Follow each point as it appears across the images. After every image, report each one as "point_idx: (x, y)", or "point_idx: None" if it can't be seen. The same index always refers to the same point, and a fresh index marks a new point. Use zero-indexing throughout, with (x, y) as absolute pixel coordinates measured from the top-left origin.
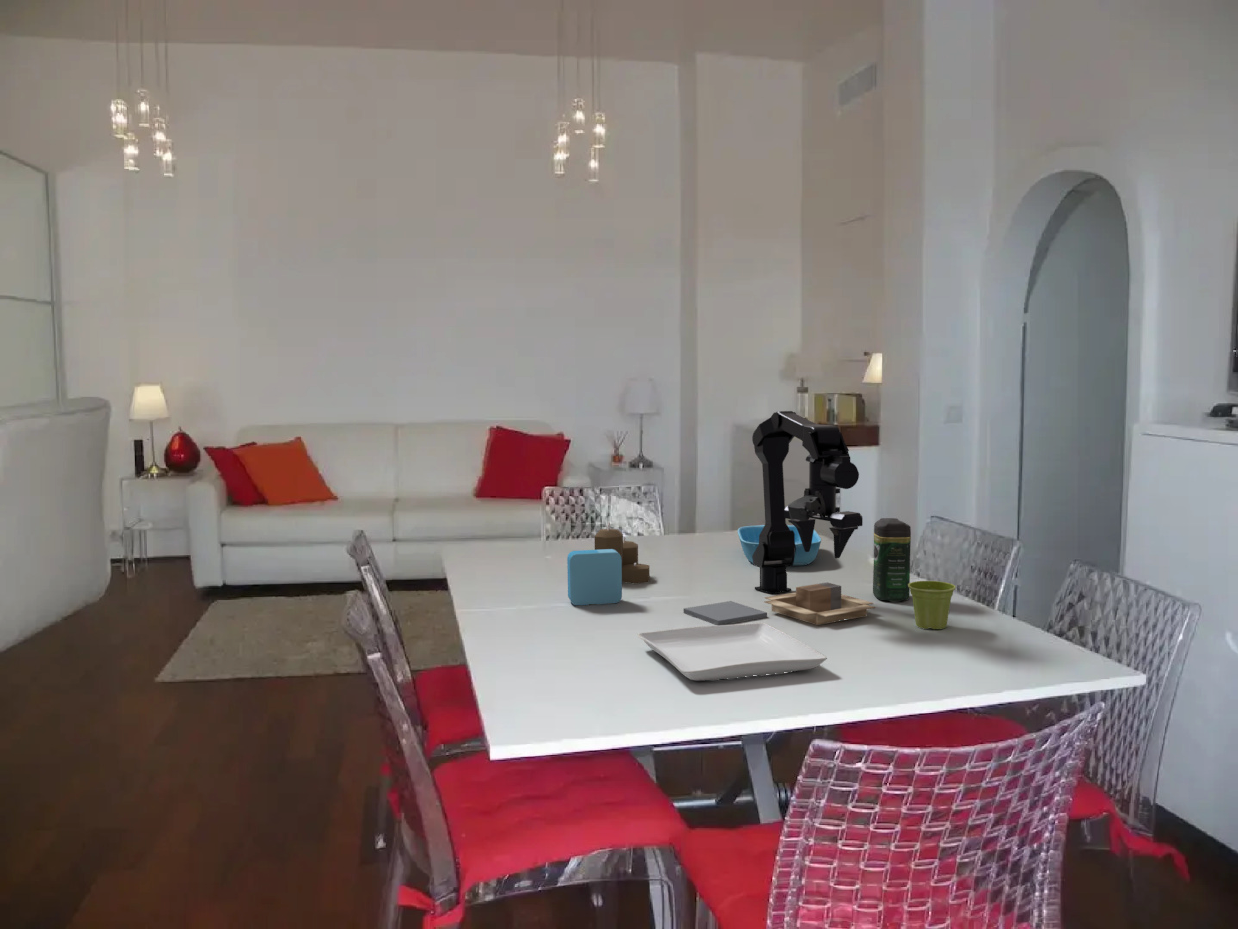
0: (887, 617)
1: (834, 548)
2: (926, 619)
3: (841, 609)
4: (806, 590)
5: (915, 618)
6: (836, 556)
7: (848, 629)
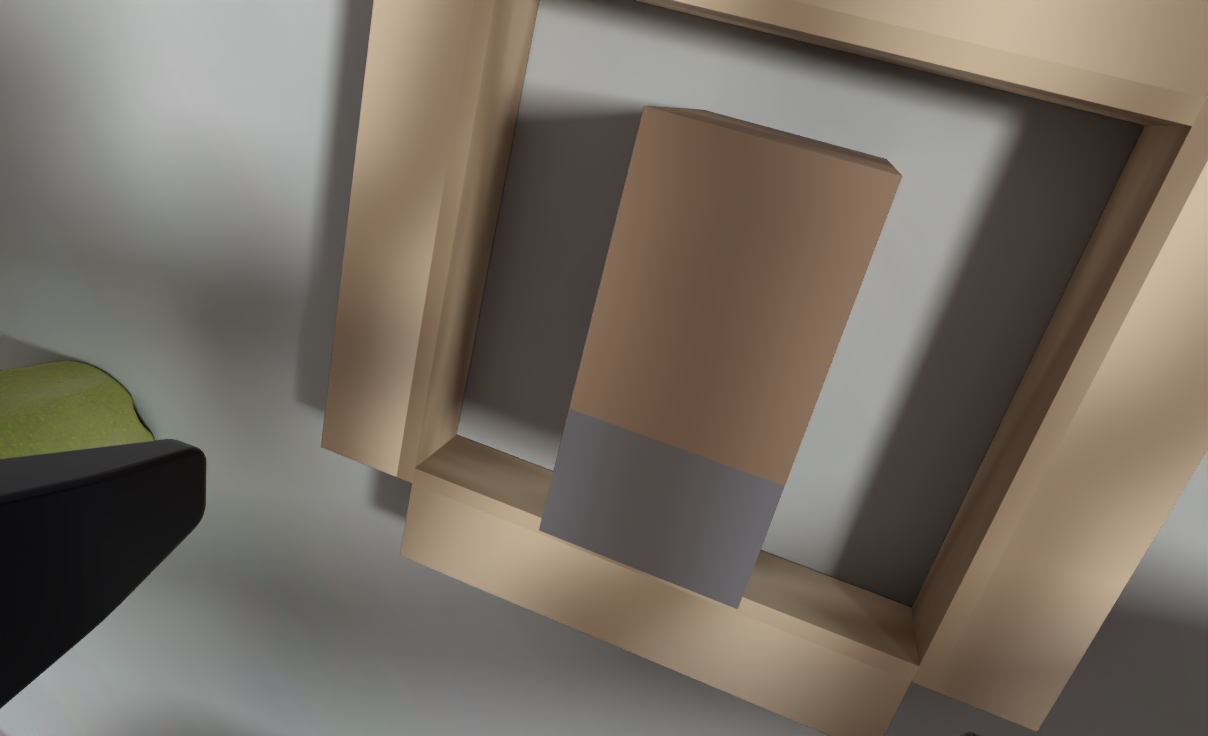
0: (342, 489)
1: (3, 489)
2: (2, 370)
3: (429, 217)
4: (705, 124)
5: (94, 405)
6: (141, 446)
7: (311, 30)
